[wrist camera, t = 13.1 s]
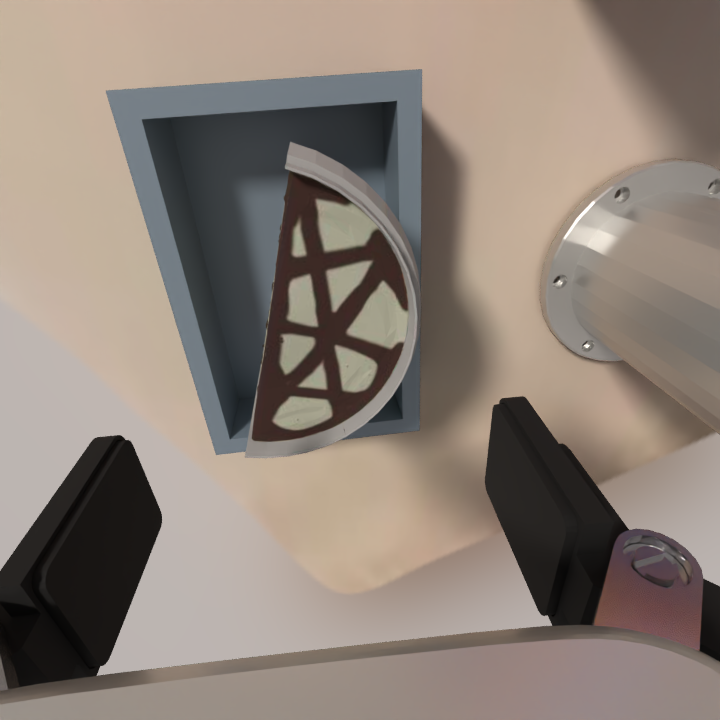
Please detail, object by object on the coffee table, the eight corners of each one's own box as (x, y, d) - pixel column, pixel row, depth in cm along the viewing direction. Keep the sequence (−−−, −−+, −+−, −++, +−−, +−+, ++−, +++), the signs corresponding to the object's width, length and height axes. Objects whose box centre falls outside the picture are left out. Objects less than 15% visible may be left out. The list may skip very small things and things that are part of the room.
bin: (398, 78, 21) (422, 69, 17) (403, 385, 30) (419, 430, 26) (147, 95, 20) (105, 90, 16) (229, 404, 29) (216, 454, 25)
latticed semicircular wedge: (360, 366, 28) (384, 480, 19) (263, 352, 27) (243, 467, 18) (414, 162, 22) (483, 194, 14) (295, 132, 21) (287, 146, 12)
